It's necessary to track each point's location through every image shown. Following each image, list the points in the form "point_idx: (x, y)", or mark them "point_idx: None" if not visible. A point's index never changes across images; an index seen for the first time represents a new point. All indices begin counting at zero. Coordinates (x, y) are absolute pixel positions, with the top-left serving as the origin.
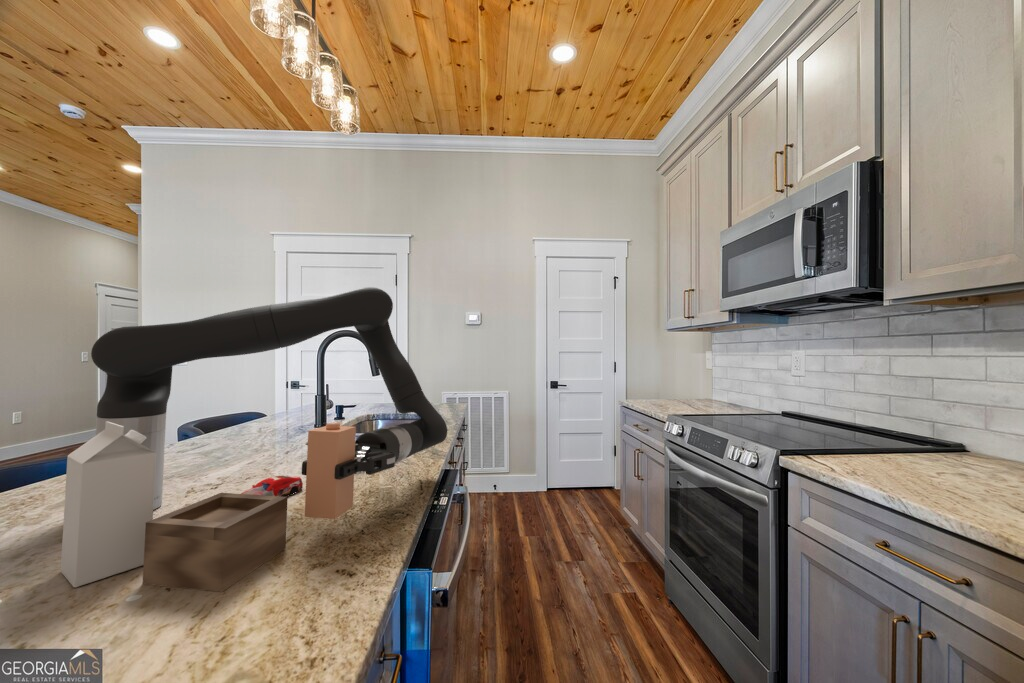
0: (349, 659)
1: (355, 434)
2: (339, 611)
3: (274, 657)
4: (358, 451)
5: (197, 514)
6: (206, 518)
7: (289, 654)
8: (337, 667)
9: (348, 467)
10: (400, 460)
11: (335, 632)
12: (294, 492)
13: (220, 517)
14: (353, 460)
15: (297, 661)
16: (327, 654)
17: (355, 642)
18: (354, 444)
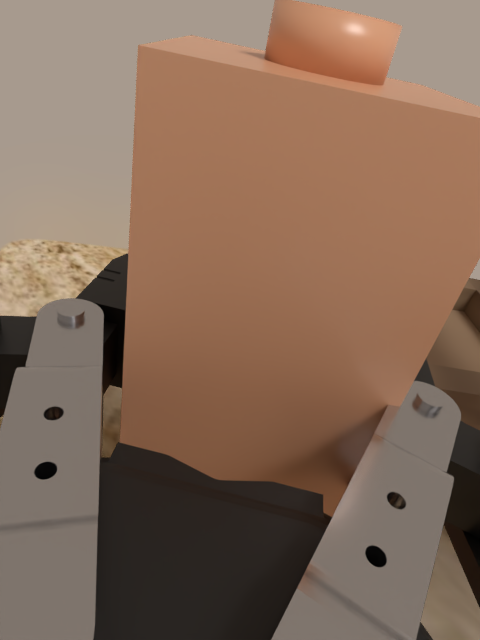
0: (15, 246)
1: (134, 158)
2: (47, 299)
3: (110, 258)
4: (157, 584)
5: None
6: (467, 349)
7: (94, 258)
8: (28, 242)
9: (109, 269)
10: None
11: (43, 273)
12: None
13: (442, 352)
14: (101, 298)
15: (79, 252)
16: (45, 253)
17: (10, 260)
18: (131, 259)
